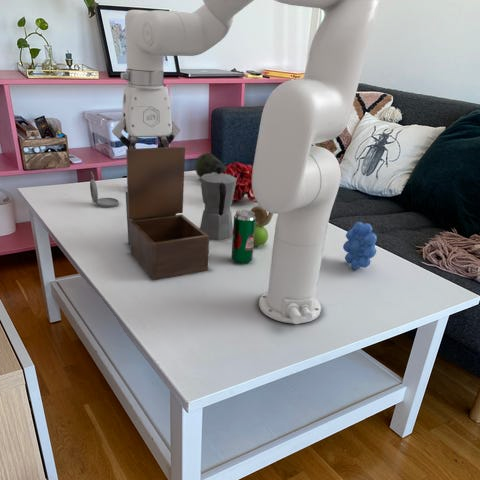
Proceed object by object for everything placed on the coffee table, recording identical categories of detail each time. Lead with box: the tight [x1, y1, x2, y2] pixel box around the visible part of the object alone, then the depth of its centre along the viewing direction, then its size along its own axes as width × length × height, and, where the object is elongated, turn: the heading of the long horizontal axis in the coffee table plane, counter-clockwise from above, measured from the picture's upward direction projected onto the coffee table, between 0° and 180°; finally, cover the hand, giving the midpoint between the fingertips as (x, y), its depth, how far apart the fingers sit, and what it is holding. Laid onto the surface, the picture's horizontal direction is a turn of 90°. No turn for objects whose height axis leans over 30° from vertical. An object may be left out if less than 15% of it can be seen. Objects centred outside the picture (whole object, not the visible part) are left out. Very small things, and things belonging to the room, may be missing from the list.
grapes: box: [342, 221, 378, 271], centre depth 115 cm, size 12×7×12 cm, turn 19°
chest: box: [129, 213, 210, 281], centre depth 112 cm, size 15×13×8 cm
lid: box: [125, 146, 186, 219], centre depth 112 cm, size 16×13×5 cm
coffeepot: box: [199, 166, 237, 241], centre depth 125 cm, size 15×9×18 cm, turn 10°
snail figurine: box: [250, 205, 274, 247], centre depth 123 cm, size 5×6×12 cm
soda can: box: [230, 209, 256, 265], centre depth 114 cm, size 5×5×12 cm
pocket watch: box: [89, 170, 119, 208], centre depth 142 cm, size 8×8×10 cm
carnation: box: [195, 152, 257, 203], centre depth 159 cm, size 16×18×35 cm
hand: (147, 164), depth 112 cm, fingers closed on lid, 6 cm apart
